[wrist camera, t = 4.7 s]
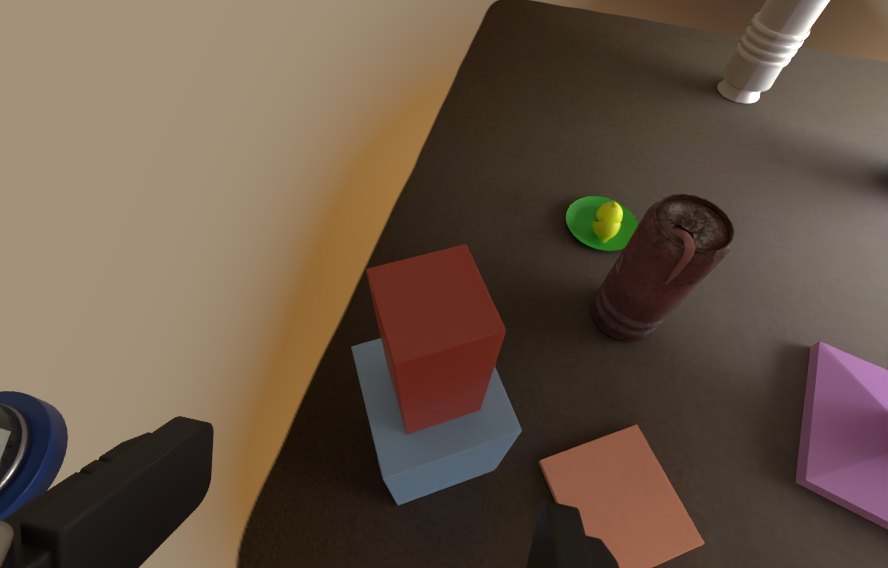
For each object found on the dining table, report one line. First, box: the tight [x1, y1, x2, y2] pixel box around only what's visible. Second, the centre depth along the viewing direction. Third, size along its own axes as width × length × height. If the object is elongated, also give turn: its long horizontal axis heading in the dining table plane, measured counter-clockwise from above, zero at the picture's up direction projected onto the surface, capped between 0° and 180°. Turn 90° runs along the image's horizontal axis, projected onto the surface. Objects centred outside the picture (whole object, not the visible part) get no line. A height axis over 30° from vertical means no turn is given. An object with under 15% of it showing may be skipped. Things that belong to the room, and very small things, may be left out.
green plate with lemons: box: [566, 196, 638, 251], centre depth 47 cm, size 8×8×3 cm
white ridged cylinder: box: [717, 0, 830, 104], centre depth 57 cm, size 7×7×15 cm
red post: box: [366, 244, 506, 434], centre depth 21 cm, size 4×4×10 cm
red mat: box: [539, 425, 704, 568], centre depth 33 cm, size 9×9×1 cm
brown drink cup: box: [592, 194, 734, 342], centre depth 36 cm, size 6×6×14 cm
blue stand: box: [351, 338, 522, 505], centre depth 30 cm, size 8×8×12 cm
